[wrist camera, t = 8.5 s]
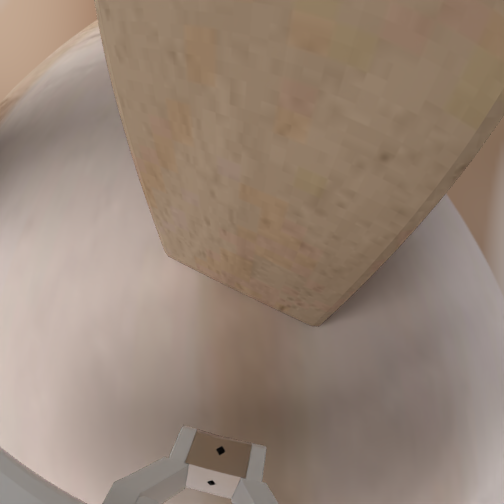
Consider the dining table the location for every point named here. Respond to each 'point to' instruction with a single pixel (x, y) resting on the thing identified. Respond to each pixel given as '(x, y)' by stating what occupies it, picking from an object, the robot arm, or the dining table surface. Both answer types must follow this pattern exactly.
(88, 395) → the dining table surface
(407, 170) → the wooden block
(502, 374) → the dining table surface
